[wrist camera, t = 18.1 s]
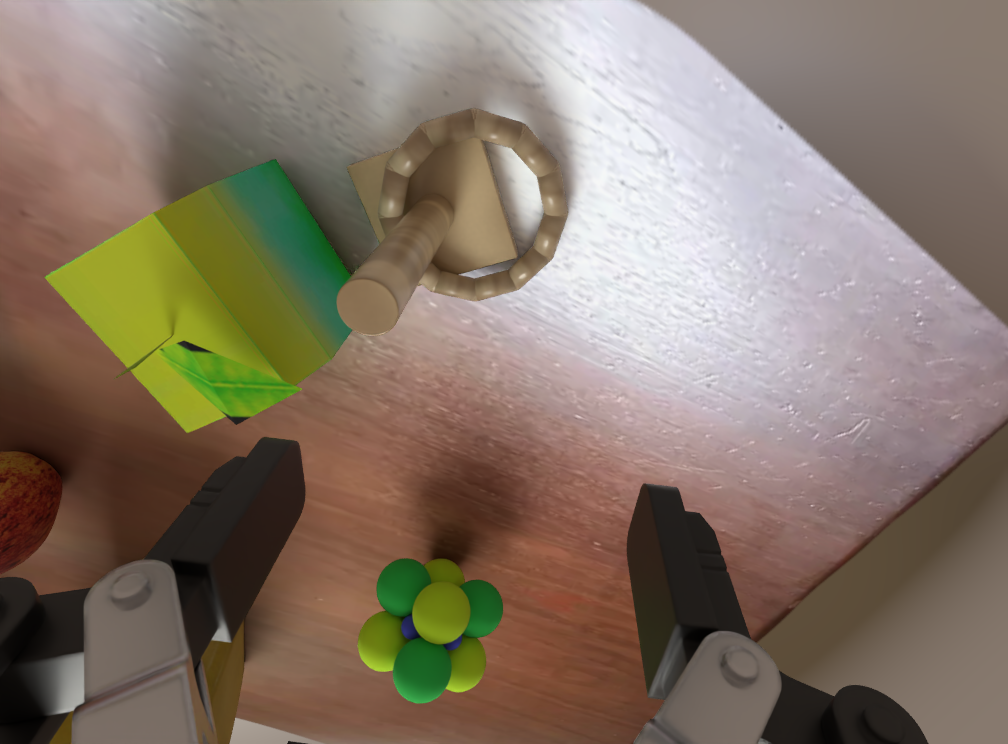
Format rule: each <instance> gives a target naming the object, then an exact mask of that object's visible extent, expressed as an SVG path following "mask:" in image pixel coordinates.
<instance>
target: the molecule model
mask: <svg viewBox="0 0 1008 744" xmlns="http://www.w3.org/2000/svg"><path fill="white" fill-rule="evenodd" d="M377 597H378V600H379V602H380V604H381V606H382V607H383V608H384V609H385V610H386V611H382V612H379V613H377V614H375V615H373V616H372V617H370V618H369V619H368V620H367V621H366V623H365V624H364V625H363V627H362V629H361V631H360V634H359V638H358V650H359V654H360V656H361V658H362V660H363V662H364V663H365V664H366V665H367V666H368V667H370V668H371V669H373V670H376V671H382V672H385V671H391V670H393V679H394V683H395V686H396V688H397V690H398V692H399V693H400V694H401V695H402V696H403V697H404V698H405V699H407V700H409V701H411V702H414V703H427V702H430V701H432V700H434V699H436V698H437V697H439V696H440V695H441V694H442V693H443V691H444V690H445V689H447V690H450V691H453V692H464V691H467V690H469V689H471V688H472V687H474V686H475V685H476V684H477V683H478V682H479V681H480V679H481V678H482V676H483V674H484V671H485V667H486V655H485V651H484V648H483V646H482V644H481V642H480V641H479V640H478V639H477V638H479V637H484V636H486V635H488V634H490V633H491V632H492V631H494V630H495V628H496V627H497V626H498V624H499V623H500V621H501V618H502V614H503V603H502V599H501V596H500V594H499V592H498V591H497V589H496V588H495V587H494V586H493V585H491V584H490V583H488V582H486V581H483V580H471V581H468V582H466V583H465V579H464V575H463V573H462V571H461V569H460V568H459V567H458V566H457V565H456V564H455V563H454V562H452V561H450V560H447V559H434V560H431V561H429V562H428V563H426V564H425V565H424V566H423V565H422V564H421V563H419V562H418V561H416V560H413V559H399V560H396V561H394V562H392V563H390V564H389V565H388V566H387V567H385V569H384V570H383V571H382V573H381V574H380V576H379V579H378V582H377Z"/></svg>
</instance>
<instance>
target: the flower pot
mask: <svg viewBox="0 0 1008 744" xmlns="http://www.w3.org/2000/svg"><path fill="white" fill-rule="evenodd" d="M202 660H203V663H204V669H205V674H206V680H207V685H208V690H209V696H210V701H211V706H212V712H213V717H214V722H215V728H216V733H217V739H218V744H229V743H230V739H231V734H232V730H233V725H234V721H235V716H236V711H237V706H238V701H239V696H240V690H241V685H242V679H243V672H244V620H243V622H242V624H241V626H240V628H239V630H238V631H237V633H236V635H235V637H234V639H233V641H232V642H231V643H230V642H223V641H215V640H211V642H210V643H209V645H208V647H207V649H206V650H205V652H204V654H203V655H202ZM72 716H73V711H70V713H69V714H68V716H67V717H66V719H65V720H64V722H63V723H62V725H61V726H60V728H59V729H58V731H57V732H56V734H55V735H54V737H53V738H52V740H51V741H50V743H49V744H71V740H72Z"/></svg>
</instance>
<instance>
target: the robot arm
mask: <svg viewBox="0 0 1008 744" xmlns="http://www.w3.org/2000/svg"><path fill="white" fill-rule="evenodd" d="M304 502H305V482H304V474H303V467H302V459H301V451H300V446H299V443H298V442H297V441H294V440H285V439H277V438H269V437H263V438H262V439H260V440H259V441H258V443H257V444H256V445H255V447H254V448H253V449H252V451H251V452H250V453H249V455H248V456H247V457H238V456H236V457H234V458H233V459H231V460H230V461H228V462H227V463H225V464H224V465H222V466H221V467H219V468H218V469H216V470H215V471H214V473H213V474H212V475H211V476H210V477H209V479H208V480H207V481H206V482H205V484H204V485H203V486H202V489H201V491H198V492H197V494H196V495H195V496H194V497H193V499H192V500H191V501H190V505H187V506H186V507H185V508H184V510H183V511H182V512H181V513H180V515H179V516H178V517H177V518H176V520H175V521H174V522H173V523H172V525H171V526H170V527H169V528H168V530H167V531H166V532H165V533H164V534H163V536H162V537H161V538H160V539H159V541H158V542H157V543H156V544H155V546H154V547H153V548H152V549H151V551H150V552H149V553H148V554H147V556H146V557H145V558H144V559H143V560H139V561H134V562H130V563H127V564H125V565H122V566H120V567H118V568H116V569H114V570H112V571H111V572H109V573H107V574H106V575H105V576H103V577H102V578H101V579H100V580H99V581H97V582H96V583H95V584H94V586H93V587H91V588H86V589H80V590H73V591H66V592H60V593H53V594H46V595H38V593H37V591H36V589H35V588H34V586H33V585H32V583H31V582H29V581H28V580H26V579H23V578H18V577H5V578H0V744H49V743H50V741H51V740H52V738H53V737H54V735H55V734H56V732H57V731H58V729H59V728H60V726H61V725H62V723H63V722H64V720H65V719H66V717H67V716H68V714H69V713H70V711H73V716H72V740H71V744H218V739H217V733H216V728H215V722H214V717H213V712H212V706H211V701H210V696H209V690H208V685H207V680H206V674H205V669H204V663H203V660H202V655H203V654H204V652H205V650H206V649H207V647H208V645H209V643H210V642H211V640H215V641H223V642H230V643H231V642H232V641H233V639H234V637H235V635H236V633H237V631H238V630H239V628H240V626H241V624H242V622H243V620H244V619H245V617H246V615H247V613H248V611H249V609H250V608H251V606H252V604H253V602H254V600H255V598H256V597H257V595H258V593H259V591H260V589H261V587H262V585H263V584H264V582H265V580H266V578H267V576H268V574H269V573H270V571H271V569H272V567H273V565H274V563H275V562H276V560H277V558H278V556H279V554H280V552H281V551H282V549H283V547H284V545H285V543H286V541H287V540H288V538H289V536H290V534H291V532H292V530H293V528H294V527H295V525H296V523H297V521H298V519H299V517H300V515H301V513H302V510H303V507H304ZM627 560H628V566H629V573H630V580H631V587H632V594H633V600H634V607H635V614H636V621H637V627H638V634H639V641H640V648H641V654H642V661H643V668H644V675H645V681H646V688H647V695H648V698H655V699H663V700H665V701H664V703H663V704H662V706H661V708H660V709H659V711H658V712H657V714H656V715H655V717H654V718H653V719H650V720H649V721H648V722H647V724H646V725H645V726H644V728H643V729H642V731H641V732H640V734H639V735H638V737H637V739H636V740H635V742H634V743H633V744H928V742H927V740H926V738H925V736H924V734H923V732H922V731H921V729H920V727H919V726H918V724H917V723H916V722H915V720H914V719H913V718H912V717H911V716H910V715H909V713H908V712H906V711H905V710H904V709H903V708H902V707H901V706H900V705H899V704H897V703H896V702H895V701H894V700H892V699H891V698H889V697H888V696H886V695H884V694H883V693H881V692H879V691H877V690H874V689H872V688H869V687H865V686H860V685H851V686H846V687H843V688H842V689H841V690H839V691H838V693H837V694H836V695H835V697H834V696H832V695H829V694H827V693H825V692H822V691H820V690H818V689H815V688H813V687H811V686H808V685H806V684H804V683H801V682H799V681H797V680H795V679H793V678H790V677H788V676H787V675H785V674H783V673H782V672H780V671H779V670H778V668H777V666H776V665H775V663H774V661H773V660H772V658H771V657H770V656H769V654H768V653H767V652H766V651H765V650H764V649H763V648H762V647H761V646H760V645H758V644H757V643H756V642H754V641H753V640H751V637H750V635H749V632H748V629H747V626H746V623H745V620H744V617H743V615H742V612H741V609H740V606H739V603H738V600H737V597H736V594H735V591H734V588H733V585H732V582H731V579H730V576H729V573H728V572H727V571H726V569H727V567H726V564H725V561H724V558H723V556H722V555H721V549H720V546H719V543H718V541H717V538H716V535H715V532H714V530H713V529H712V528H711V527H710V525H709V524H708V523H707V522H706V521H705V519H704V518H703V517H702V516H701V514H700V513H695V512H687V511H685V509H684V506H683V502H682V499H681V495H680V492H679V490H678V488H677V487H671V486H662V485H654V484H646V483H645V484H643V485H642V487H641V489H640V493H639V496H638V500H637V503H636V507H635V510H634V514H633V517H632V521H631V524H630V527H629V531H628V537H627ZM287 744H306V743H297V742H291V741H288V743H287Z"/></svg>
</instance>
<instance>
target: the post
mask: <svg viewBox="0 0 1008 744" xmlns="http://www.w3.org/2000/svg"><path fill="white" fill-rule="evenodd" d="M398 149H399V148H397V149H394V150H391V151H388V152H385V153H382V154H380V155H377V156H374V157H371V158H368V159H365V160H362V161H359V162H356V163H353V164H351V165H349V166H348V167H347V170H348V172H349V174H350V177H351V179H352V181H353V184H354V186H355V188H356V191H357V193H358V195H359V197H360V200H361V202H362V204H363V207H364V209H365V211H366V214H367V216H368V218H369V221H370V223H371V225H372V227H373V230H374V232H375V234H376V237H377V239H378V241H379V245H378V246H377V248H376V249H375V250H374V251H373V252H372V253H371V254H370V256H369V257H368V258H367V259H366V260H365V261H364V262H363V263H362V265H361V266H360V267H359V268H358V269H357V270H356V271H355V272H354V274H353V275H352V276H351V277H350V278H349V279H348V280H347V281H346V283H345V284H344V285H343V286H342V287H341V289H340V290H339V292H338V295H337V309H338V313H339V315H340V317H341V319H342V320H343V321H344V323H345V324H346V325H347V326H348V327H349V328H351V329H352V330H354V331H355V332H357V333H360V334H363V335H367V336H377V335H382V334H385V333H387V332H388V331H390V330H391V329H392V328H393V327H394V326H395V324H396V322H397V321H398V319H399V317H400V315H401V314H402V312H403V310H404V308H405V307H406V305H407V303H408V301H409V300H410V298H411V296H412V294H413V293H414V291H415V289H416V287H417V286H420V285H422V284H421V283H420V280H421V278H422V277H423V275H424V273H425V271H426V270H427V268H428V266H429V264H430V263H431V262H432V263H433V264H434V265H435V266H436V267H437V268H438V269H439V270H441V271H444V272H448V273H453V274H457V275H458V274H462V273H465V272H469V271H472V270H476V269H480V268H483V267H487V266H490V265H494V264H497V263H501V262H504V261H508V260H511V259H515V258H517V257H518V250H517V247H516V243H515V240H514V237H513V234H512V230H511V227H510V224H509V221H508V218H507V214H506V211H505V208H504V205H503V202H502V198H501V195H500V192H499V189H498V185H497V182H496V179H495V176H494V173H493V169H492V166H491V163H490V160H489V157H488V153H487V150H486V147H485V144H484V140H481V139H478V138H470V139H467V140H463V141H459V142H456V143H452V144H449V145H445V146H442V147H438V148H436V149H435V150H434V151H433V152H432V153H431V154H430V155H429V156H428V157H427V159H426V160H425V161H424V162H423V163H422V164H421V165H420V166H419V167H418V168H417V170H416V171H415V172H414V173H413V174H412V175H411V176H410V179H409V184H408V189H407V194H406V199H405V205H404V210H403V216H404V217H403V218H402V219H401V221H400V222H399V223H398V224H397V225H396V226H395V227H394V228H393V230H392V231H391V232H390V233H389V234H388V235H387V236H386V237H385V234H384V231H383V229H382V226H381V223H380V221H379V218H378V206H379V200H380V195H381V189H382V183H383V177H384V171H385V166H386V163H387V161H388V160H389V159H390V158H391V157H392V155H393V154H394V153H395V152H396V151H397V150H398Z"/></svg>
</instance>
